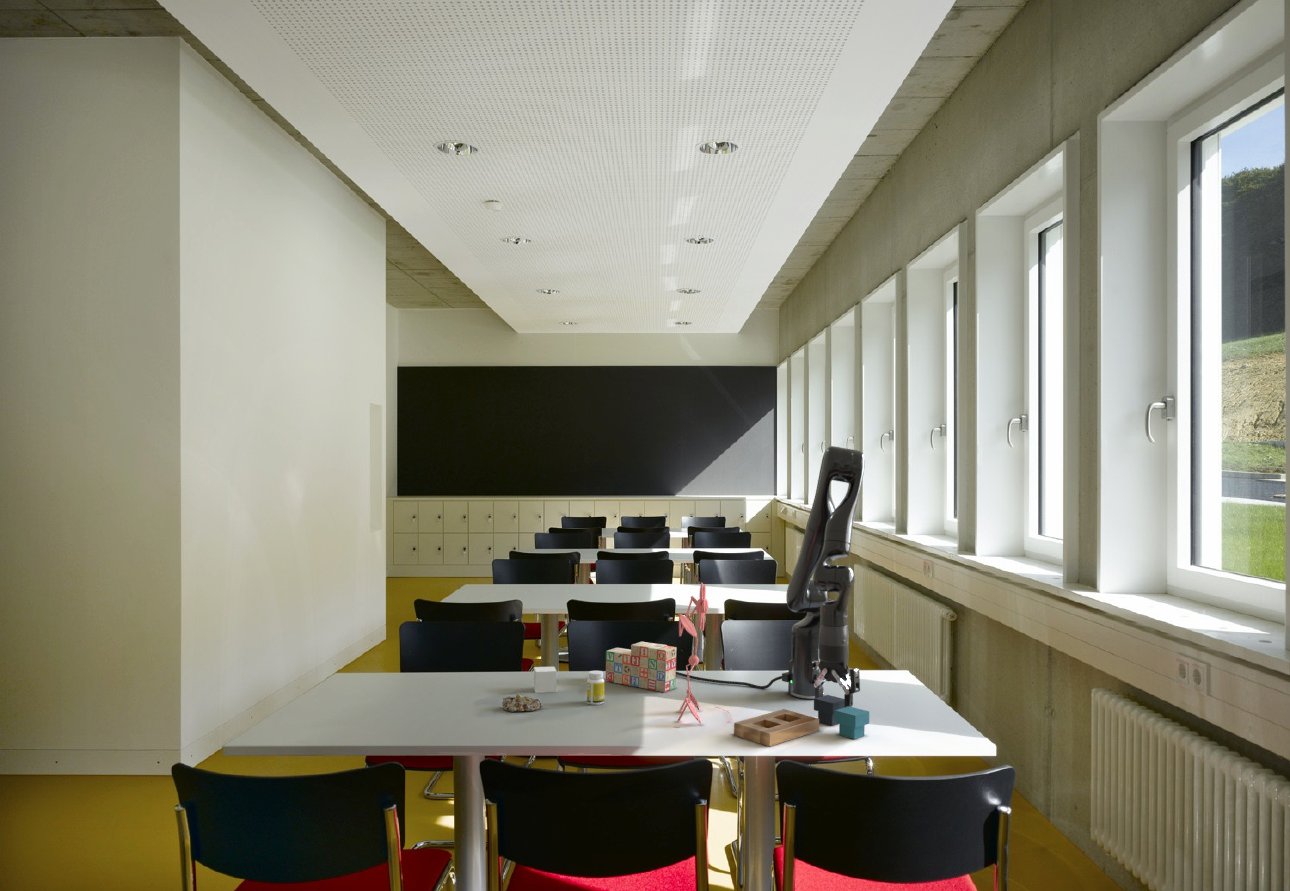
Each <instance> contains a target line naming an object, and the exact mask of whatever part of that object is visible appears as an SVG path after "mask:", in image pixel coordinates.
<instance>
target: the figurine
mask: <svg viewBox="0 0 1290 891" xmlns="http://www.w3.org/2000/svg"><path fill="white" fill-rule="evenodd" d="M706 594H707V586H706V584H704V583H703V582H701V583H700V587H699V598H698V599H696V597H694V596H693V595H691V596H690V600H689V604H688V606H687V611H686V614H685V615H684V614H682V613H678V614H677V615H678V638H681V637H682V634H683V633H684V632H683V631H684V630H685V632H687V633H688V634H689V635H690V636H692V637H693V638H695V644H694V646H695V648H694V654H692V655H690V656H689V658H688V664H686V665H685V671H686V674H687V677H686V678H687V689H686V691H685V692H686V694H687V695H686V696H685V698H684V699H683V702H682V704H681V706H680V708H679V710H678V713H680V714H679V717H678V718H677V720H676V722H677V723H680V722H681V719H682V718H683V715H684V713H685V711H686V710H687V708H688V709H689V711H690V713H691V714H692V716H693V717H694V719H695V720H696V721H697V722H698V723H699V725H701V724H702V721H701V718H700V715H699V714H698V712H697V710H698V711H699V710H700V705H699V703H698V700H697V699H696V697H695V696H694V695H693V693H692V692H693V691H691V684H690V683H691V682H690V678H689V675H691V672H692V671H693V669H694V667H695V666H698V664H699V662H700V658H699V657H698V655H697V654H698V652H697V651H698V642H699V637H698V634H697V629H696V628H695V626H694V624H693V622H692V621H691V618H692V617H693V615H694V614H695V612H696V614H697V615H698V617H697V618H698V619H697V620H698V624H697V625H698V629H699V630H701V631H702V632H703V631H704V630H705V618H706V616H705V615H706V614H707V613H708V611H709V600H708V599H706ZM692 603H693V604H694V605H695V607H694V608H693V610H692V611H691V613H690V610H691V606H692V605H693V604H692ZM689 613H690V614H689ZM689 666H691V668H690V670H689V669H688V667H689ZM715 708H716V709H719V710H722V711H724V712H726V713H728V714H729V715H730V716H731V717H732V714H731V713H730V712H729V710H727V709H723V708H721V707H718V706H715ZM731 721H732V719H729V721H727V724H728V723H730V722H731ZM674 728H676V729H680V727H679V726H674Z"/></svg>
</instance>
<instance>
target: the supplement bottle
mask: <svg viewBox="0 0 1290 891" xmlns="http://www.w3.org/2000/svg"><path fill="white" fill-rule="evenodd" d="M604 703H605V679H604V672H603V671H602V670H590V671H588V679H587V680H586V704H588V705H592V706H600V705H603V704H604Z"/></svg>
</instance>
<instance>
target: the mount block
mask: <svg viewBox="0 0 1290 891" xmlns="http://www.w3.org/2000/svg"><path fill="white" fill-rule="evenodd" d="M819 731H820V722H819V719H818V717H814V716H810V715H807V714H804V713H800V712H796V711H792V710H788V709H785V708H782V709H779V710H775V711H772V712H768V713H765V714H760V715H758V716H753V717H751V718H746V719H742V720H740V721H736V722H735V721H734V722H733V735H734V736H736V737H739V738H742V739H744V740H748V741H751V742H754V743H757V744H760V745H764V746H766V747H772V746H776V745H779V744H782V743H785V742H788V741H791V740H794V739H798V738H801V737H803V736H806V735H809V734H813V733H816V732H819Z"/></svg>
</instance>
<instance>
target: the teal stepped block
mask: <svg viewBox="0 0 1290 891" xmlns="http://www.w3.org/2000/svg"><path fill="white" fill-rule="evenodd" d="M835 723H838V724H837V725H839V726H838V735H839V736H842V737H844V738H849V739H853V740H856V739H859V738H862V737H865V726H866V725H869V724H870V711H868V710H866V709H861V708H858V707H854V706H851V707H850V706H848V707H845V708H841V709H838V710H835Z"/></svg>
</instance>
